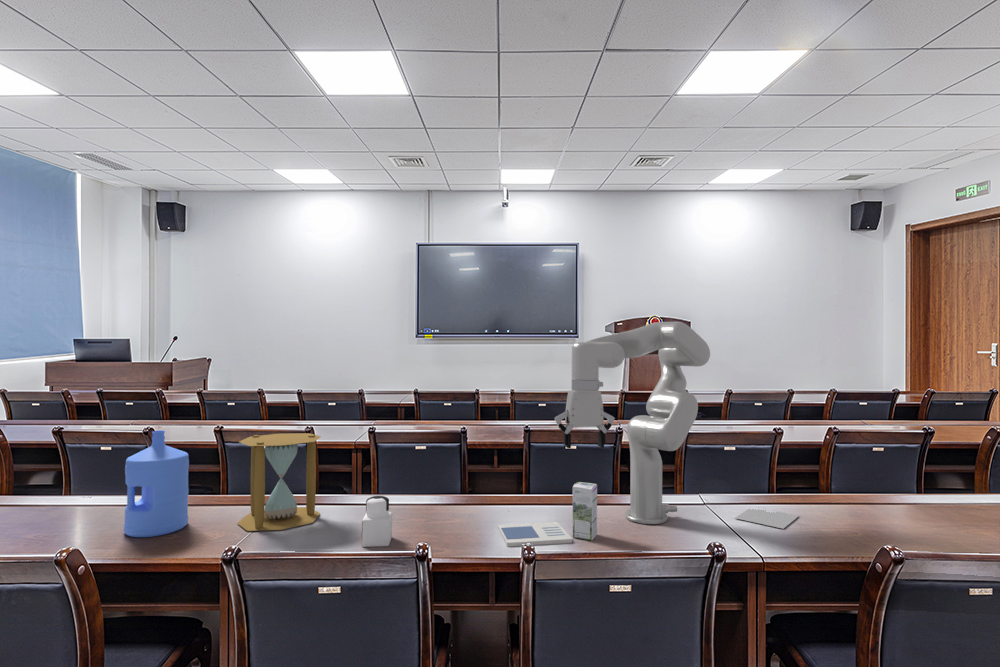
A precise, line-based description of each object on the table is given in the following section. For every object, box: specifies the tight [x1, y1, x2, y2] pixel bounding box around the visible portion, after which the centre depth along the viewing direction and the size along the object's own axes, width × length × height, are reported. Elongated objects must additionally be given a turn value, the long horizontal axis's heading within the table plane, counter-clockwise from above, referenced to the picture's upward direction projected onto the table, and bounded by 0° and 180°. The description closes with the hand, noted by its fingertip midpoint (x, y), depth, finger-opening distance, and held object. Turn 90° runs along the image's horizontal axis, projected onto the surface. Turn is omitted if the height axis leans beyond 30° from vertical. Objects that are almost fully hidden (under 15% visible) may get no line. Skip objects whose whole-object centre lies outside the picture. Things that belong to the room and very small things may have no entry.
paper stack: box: [734, 508, 798, 529], centre depth 162 cm, size 23×25×1 cm
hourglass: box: [237, 432, 322, 532], centre depth 165 cm, size 24×22×25 cm
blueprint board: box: [497, 521, 573, 548], centre depth 152 cm, size 18×14×1 cm
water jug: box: [123, 430, 190, 538], centre depth 156 cm, size 16×16×28 cm
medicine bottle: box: [361, 495, 393, 548], centre depth 146 cm, size 7×7×12 cm
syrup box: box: [572, 481, 598, 541], centre depth 151 cm, size 6×6×14 cm
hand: (584, 447), depth 152 cm, fingers open, 9 cm apart
